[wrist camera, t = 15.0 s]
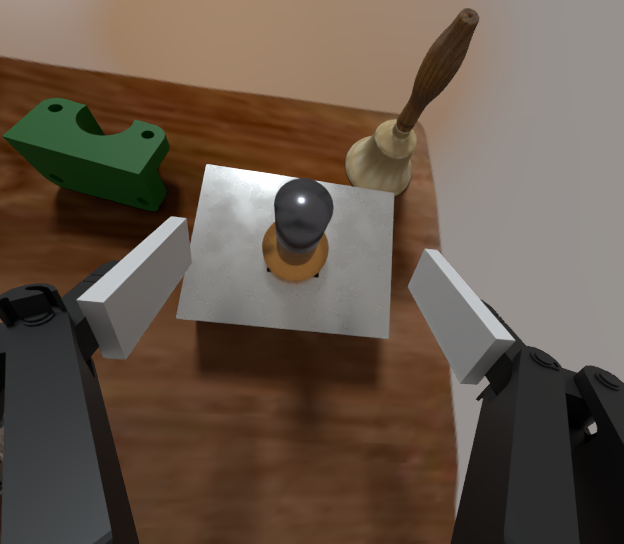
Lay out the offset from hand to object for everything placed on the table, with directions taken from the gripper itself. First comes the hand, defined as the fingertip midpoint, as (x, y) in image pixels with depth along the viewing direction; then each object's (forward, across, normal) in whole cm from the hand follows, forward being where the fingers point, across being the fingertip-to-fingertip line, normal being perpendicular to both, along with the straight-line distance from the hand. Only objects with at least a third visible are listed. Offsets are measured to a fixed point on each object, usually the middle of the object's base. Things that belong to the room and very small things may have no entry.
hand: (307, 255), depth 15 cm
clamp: (+17, -20, -2) cm, 26 cm away
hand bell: (+20, +9, +1) cm, 22 cm away
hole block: (+11, 0, -8) cm, 14 cm away
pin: (+11, 0, -8) cm, 13 cm away
